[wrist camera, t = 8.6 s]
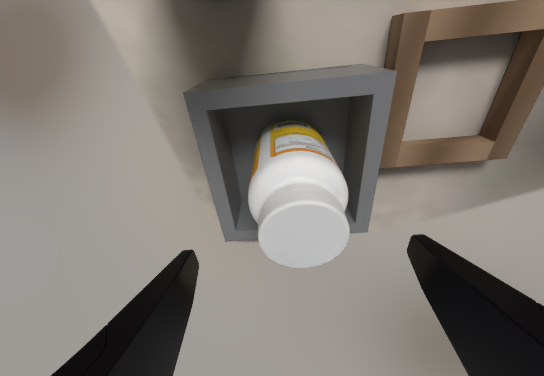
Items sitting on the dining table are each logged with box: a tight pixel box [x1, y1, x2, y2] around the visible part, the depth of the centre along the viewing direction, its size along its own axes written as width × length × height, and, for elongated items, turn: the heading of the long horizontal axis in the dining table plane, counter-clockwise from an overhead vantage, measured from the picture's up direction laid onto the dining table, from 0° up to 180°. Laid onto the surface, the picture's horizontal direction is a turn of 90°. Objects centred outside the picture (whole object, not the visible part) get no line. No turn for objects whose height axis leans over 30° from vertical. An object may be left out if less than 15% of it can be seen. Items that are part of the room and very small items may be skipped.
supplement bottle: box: [248, 118, 350, 268], centre depth 14 cm, size 5×5×10 cm
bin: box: [183, 64, 397, 242], centre depth 17 cm, size 11×11×5 cm
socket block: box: [379, 0, 544, 169], centre depth 16 cm, size 10×10×2 cm
